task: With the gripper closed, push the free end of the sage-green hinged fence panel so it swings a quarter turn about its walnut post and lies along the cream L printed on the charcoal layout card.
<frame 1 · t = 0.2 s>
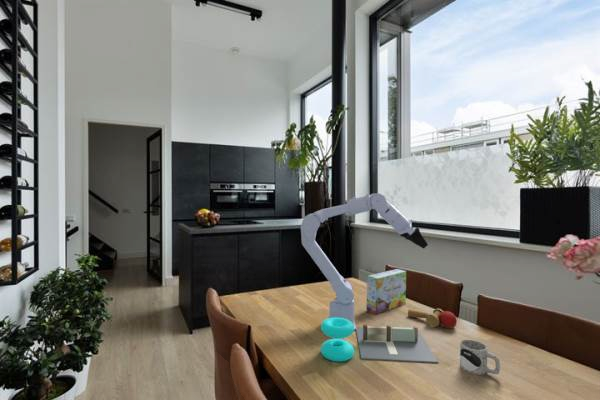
hand: (422, 244, 115), 31 cm above the table, tool tilted 45°, fingers open, 7 cm apart
fence gate: (404, 333, 104), point 3 cm above the table, hinge at 0.0°
layout card: (392, 343, 104), on the table
mug: (479, 371, 88), on the table
kendama: (431, 323, 121), on the table
snack box: (386, 308, 137), on the table
donuts: (337, 355, 97), on the table
fence fixed: (388, 342, 105), resting on layout card
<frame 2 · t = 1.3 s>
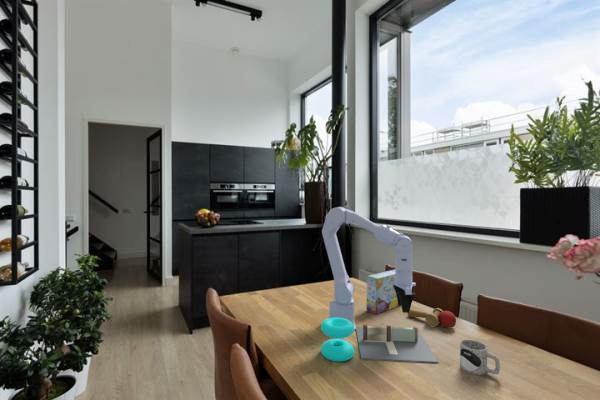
hand: (403, 308, 112), 8 cm above the table, tool pointing down, fingers open, 6 cm apart
nothing on the table moved.
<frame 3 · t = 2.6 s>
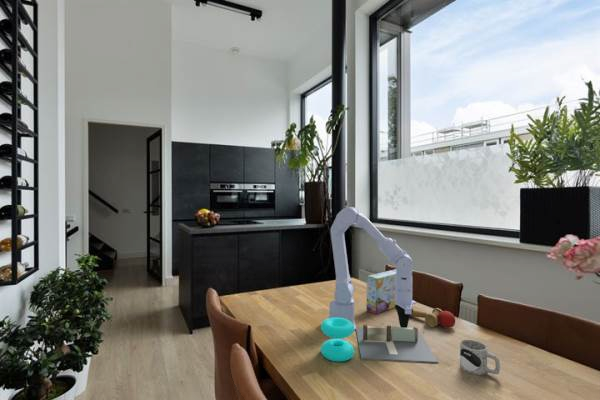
hand: (403, 327, 112), 2 cm above the table, tool pointing down, fingers closed
nothing on the table moved.
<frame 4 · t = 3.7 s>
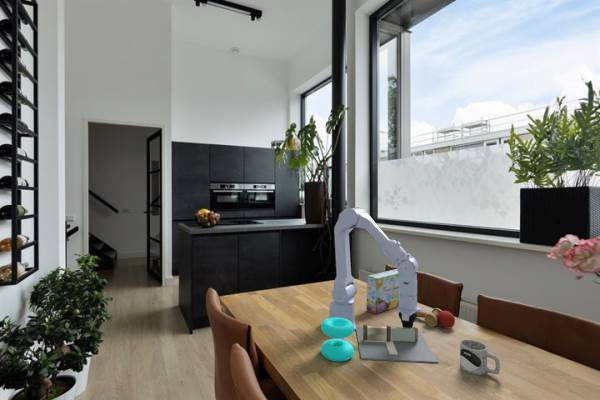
hand: (407, 334, 106), 2 cm above the table, tool pointing down, fingers closed
fence gate: (404, 333, 104), point 3 cm above the table, hinge at 0.5°, touching gripper
everything else where it was.
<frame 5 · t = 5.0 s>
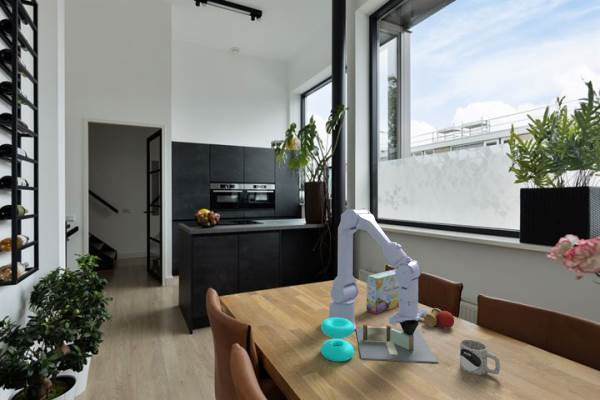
hand: (408, 342, 101), 2 cm above the table, tool pointing down, fingers closed
fence gate: (401, 338, 101), point 3 cm above the table, hinge at 48.9°, touching gripper
everything else where it was.
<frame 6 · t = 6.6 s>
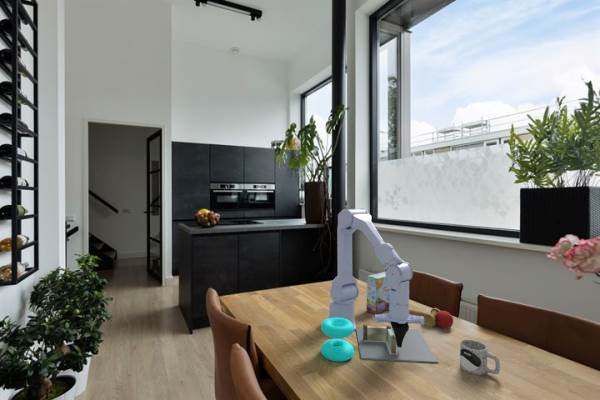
hand: (398, 345, 98), 2 cm above the table, tool pointing down, fingers closed
fence gate: (391, 340, 100), point 3 cm above the table, hinge at 90.2°, touching gripper
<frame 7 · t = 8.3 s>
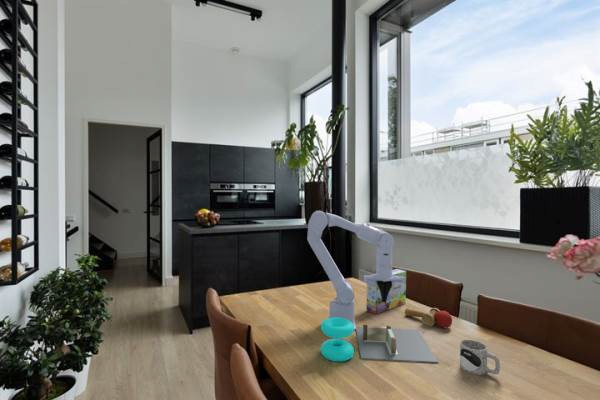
hand: (384, 301, 117), 9 cm above the table, tool pointing down, fingers closed
fence gate: (391, 340, 100), point 3 cm above the table, hinge at 90.3°
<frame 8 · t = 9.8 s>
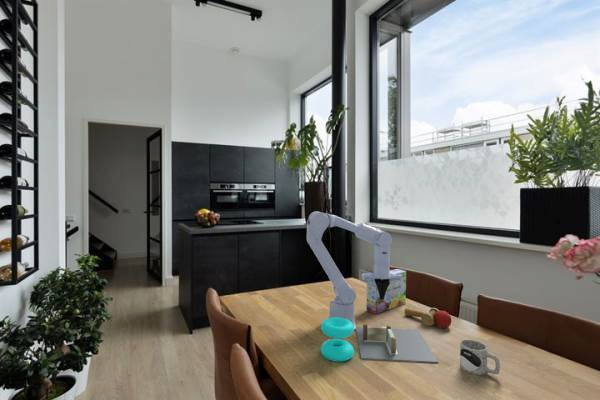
hand: (381, 298, 120), 9 cm above the table, tool pointing down, fingers closed
at the end: fence gate at +90° (first picture: +0°); kendama moved 1.7 cm from its start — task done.
